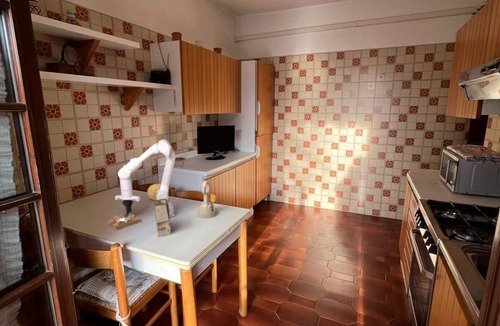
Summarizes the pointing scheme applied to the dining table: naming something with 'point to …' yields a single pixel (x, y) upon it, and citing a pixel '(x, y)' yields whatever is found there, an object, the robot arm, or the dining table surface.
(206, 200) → the engine component
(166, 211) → the coffee box
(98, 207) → the dining table surface
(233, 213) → the dining table surface
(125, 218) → the sprocket
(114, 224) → the index board
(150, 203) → the dining table surface
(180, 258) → the dining table surface
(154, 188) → the sculpture
